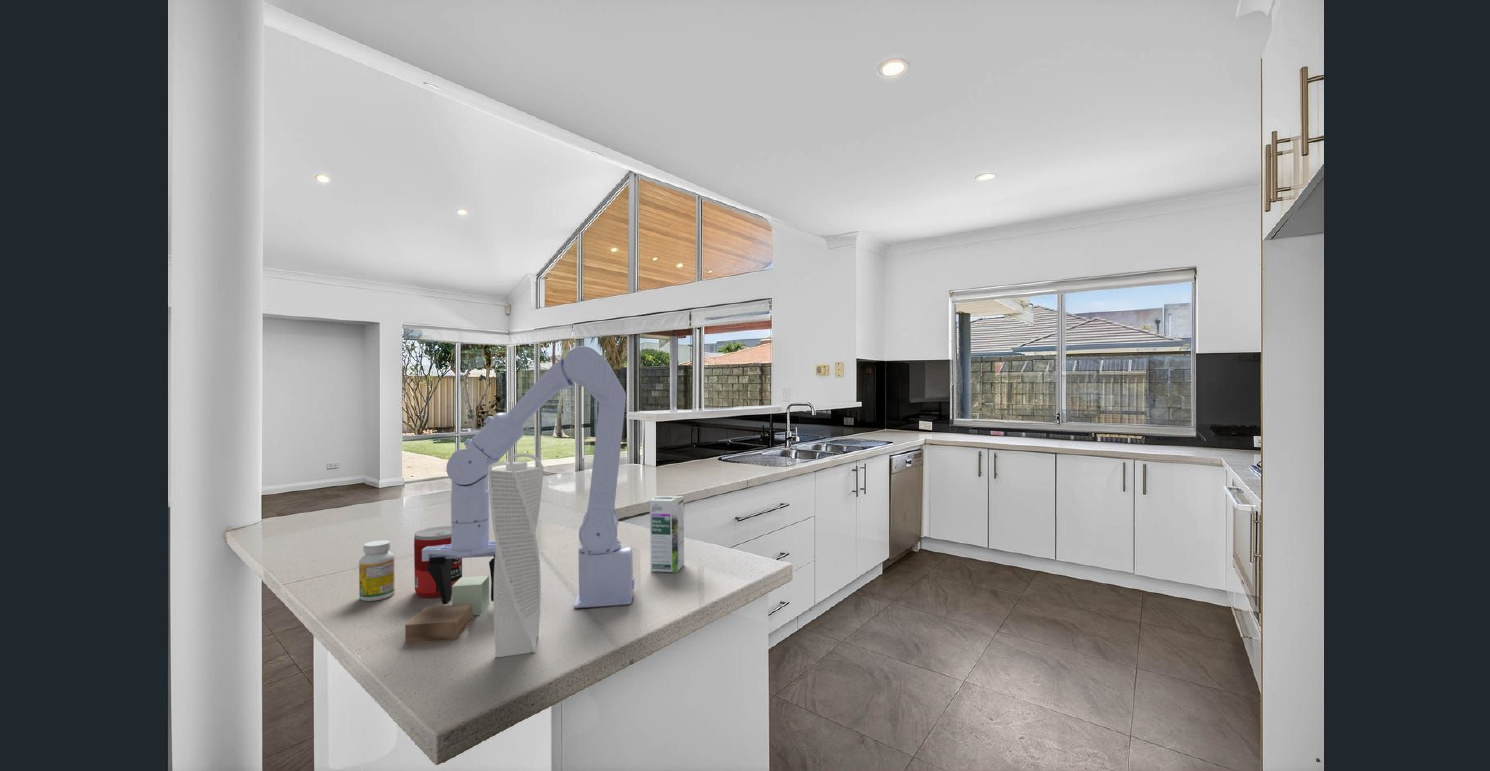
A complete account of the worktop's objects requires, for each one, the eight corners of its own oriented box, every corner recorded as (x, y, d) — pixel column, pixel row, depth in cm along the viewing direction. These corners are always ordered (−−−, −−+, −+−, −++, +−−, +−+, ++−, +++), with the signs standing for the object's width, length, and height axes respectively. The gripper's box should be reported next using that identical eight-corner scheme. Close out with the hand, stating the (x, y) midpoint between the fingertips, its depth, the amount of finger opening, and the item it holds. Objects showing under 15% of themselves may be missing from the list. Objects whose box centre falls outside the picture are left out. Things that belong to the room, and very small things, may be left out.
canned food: (442, 599, 100) (442, 537, 100) (403, 596, 101) (403, 535, 101) (472, 584, 107) (471, 526, 107) (435, 582, 109) (434, 525, 109)
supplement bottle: (391, 599, 100) (391, 544, 100) (355, 603, 98) (355, 548, 98) (397, 589, 105) (396, 537, 105) (363, 593, 103) (362, 541, 103)
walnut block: (472, 622, 90) (472, 604, 90) (455, 642, 83) (455, 621, 83) (425, 625, 89) (425, 606, 89) (405, 645, 82) (405, 624, 82)
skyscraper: (543, 655, 78) (541, 453, 78) (484, 664, 76) (482, 455, 76) (546, 632, 85) (544, 447, 86) (493, 639, 83) (491, 449, 83)
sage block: (489, 604, 97) (489, 575, 97) (481, 614, 93) (481, 584, 93) (461, 606, 96) (461, 577, 96) (452, 616, 92) (451, 586, 92)
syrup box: (649, 572, 113) (648, 499, 113) (658, 563, 119) (658, 494, 119) (677, 573, 112) (676, 500, 112) (685, 564, 118) (684, 494, 118)
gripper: (413, 527, 90) (414, 612, 90) (509, 523, 92) (510, 606, 92) (431, 517, 97) (431, 596, 96) (520, 513, 99) (520, 591, 99)
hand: (471, 600), depth 95 cm, fingers open, 7 cm apart
